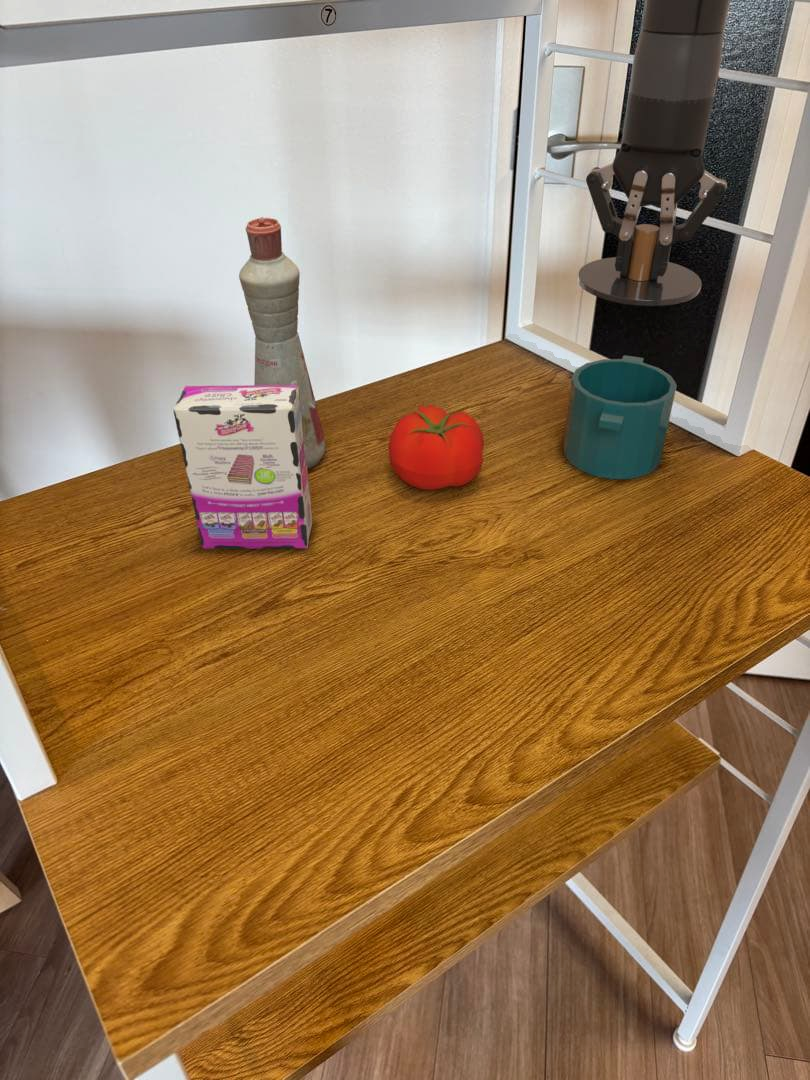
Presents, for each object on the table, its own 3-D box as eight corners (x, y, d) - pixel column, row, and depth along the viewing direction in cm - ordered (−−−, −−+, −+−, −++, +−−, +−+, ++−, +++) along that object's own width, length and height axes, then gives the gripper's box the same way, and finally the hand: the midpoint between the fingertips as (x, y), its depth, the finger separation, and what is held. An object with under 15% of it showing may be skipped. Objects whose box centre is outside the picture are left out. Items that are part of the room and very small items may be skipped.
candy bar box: (313, 521, 89) (301, 382, 79) (308, 550, 85) (294, 408, 75) (209, 521, 89) (183, 382, 79) (199, 550, 85) (171, 408, 75)
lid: (703, 275, 89) (716, 216, 85) (693, 319, 80) (707, 254, 76) (588, 261, 92) (596, 204, 89) (565, 302, 83) (573, 240, 79)
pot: (668, 428, 104) (683, 357, 98) (650, 500, 91) (666, 424, 86) (577, 412, 107) (587, 344, 101) (549, 480, 95) (557, 406, 89)
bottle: (235, 460, 98) (198, 218, 81) (290, 430, 104) (266, 197, 87) (286, 486, 94) (258, 236, 77) (341, 453, 100) (326, 213, 82)
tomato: (370, 478, 95) (368, 421, 91) (433, 442, 101) (434, 387, 97) (440, 515, 89) (442, 456, 85) (502, 474, 96) (507, 417, 91)
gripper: (587, 91, 74) (565, 281, 85) (751, 101, 70) (706, 299, 81) (601, 77, 79) (579, 257, 90) (754, 85, 76) (712, 273, 86)
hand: (639, 276), depth 85 cm, fingers closed on lid, 2 cm apart
